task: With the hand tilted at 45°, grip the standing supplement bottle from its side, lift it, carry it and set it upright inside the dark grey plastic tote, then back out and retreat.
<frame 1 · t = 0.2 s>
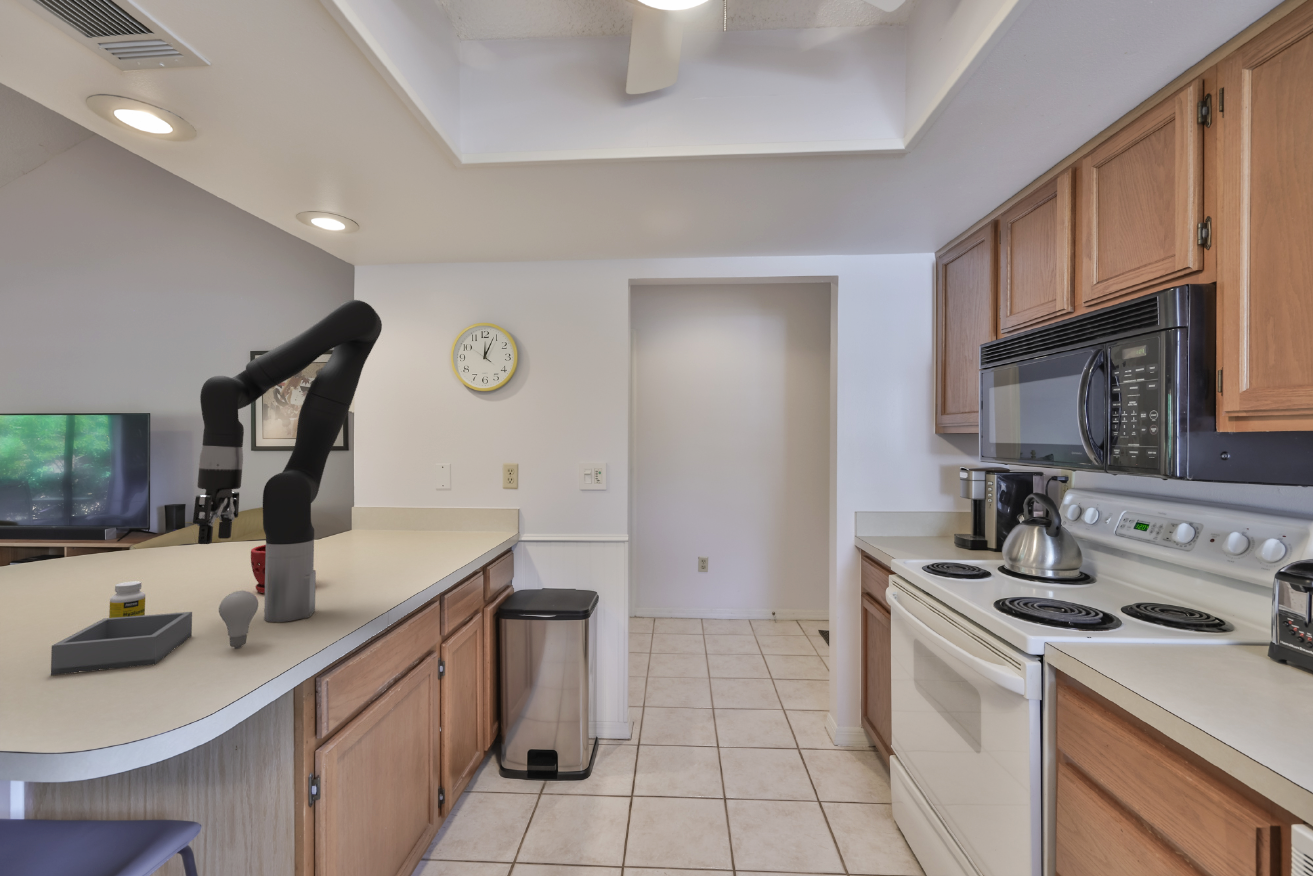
hand: (215, 541, 120), 18 cm above the counter, tool pointing down, fingers open, 8 cm apart
plant pot: (280, 590, 146), on the counter
supplement bottle: (126, 631, 115), on the counter
tote: (127, 653, 102), on the counter
lightbulb: (237, 649, 106), on the counter
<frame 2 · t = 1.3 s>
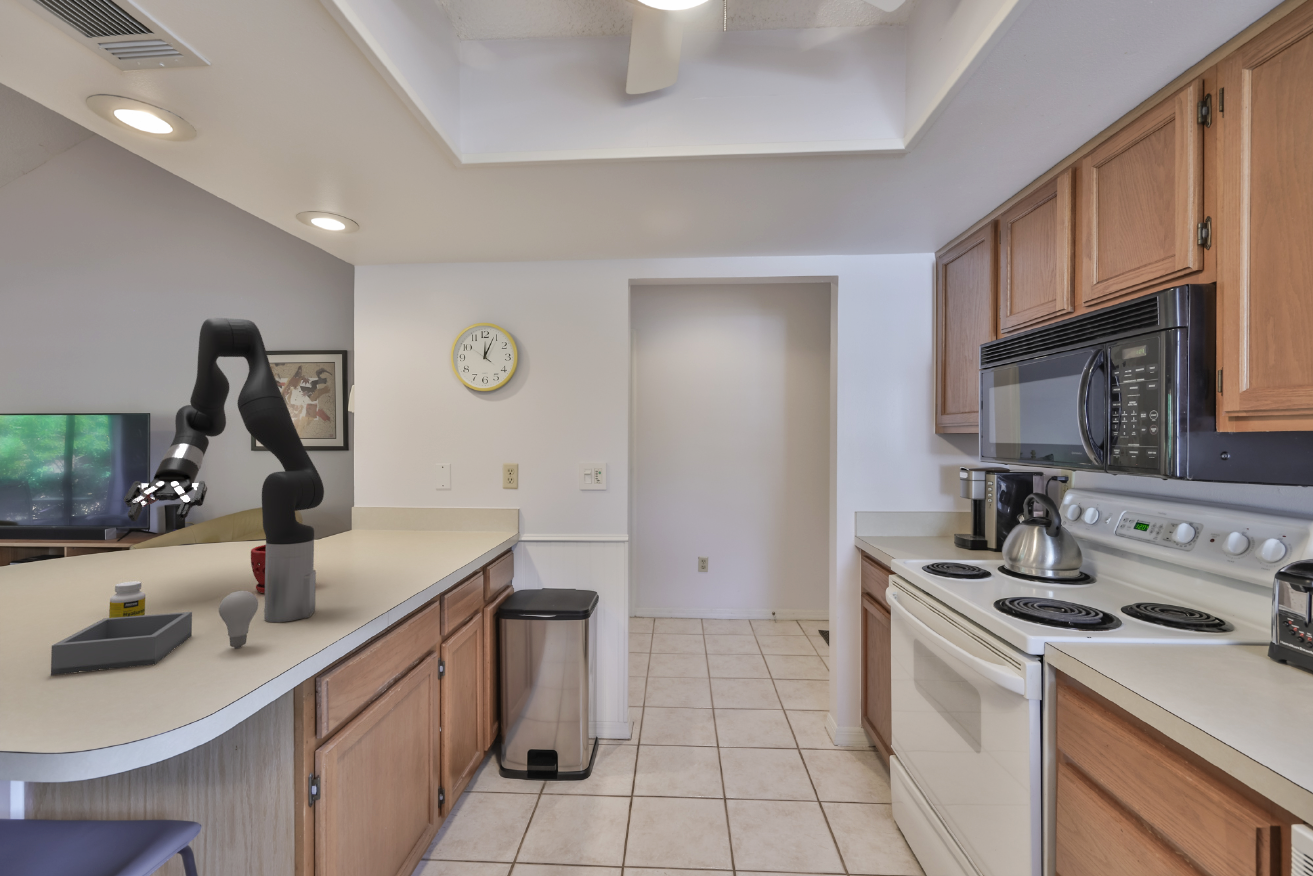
hand: (156, 518, 126), 22 cm above the counter, tool tilted 45°, fingers open, 8 cm apart
nothing on the counter moved.
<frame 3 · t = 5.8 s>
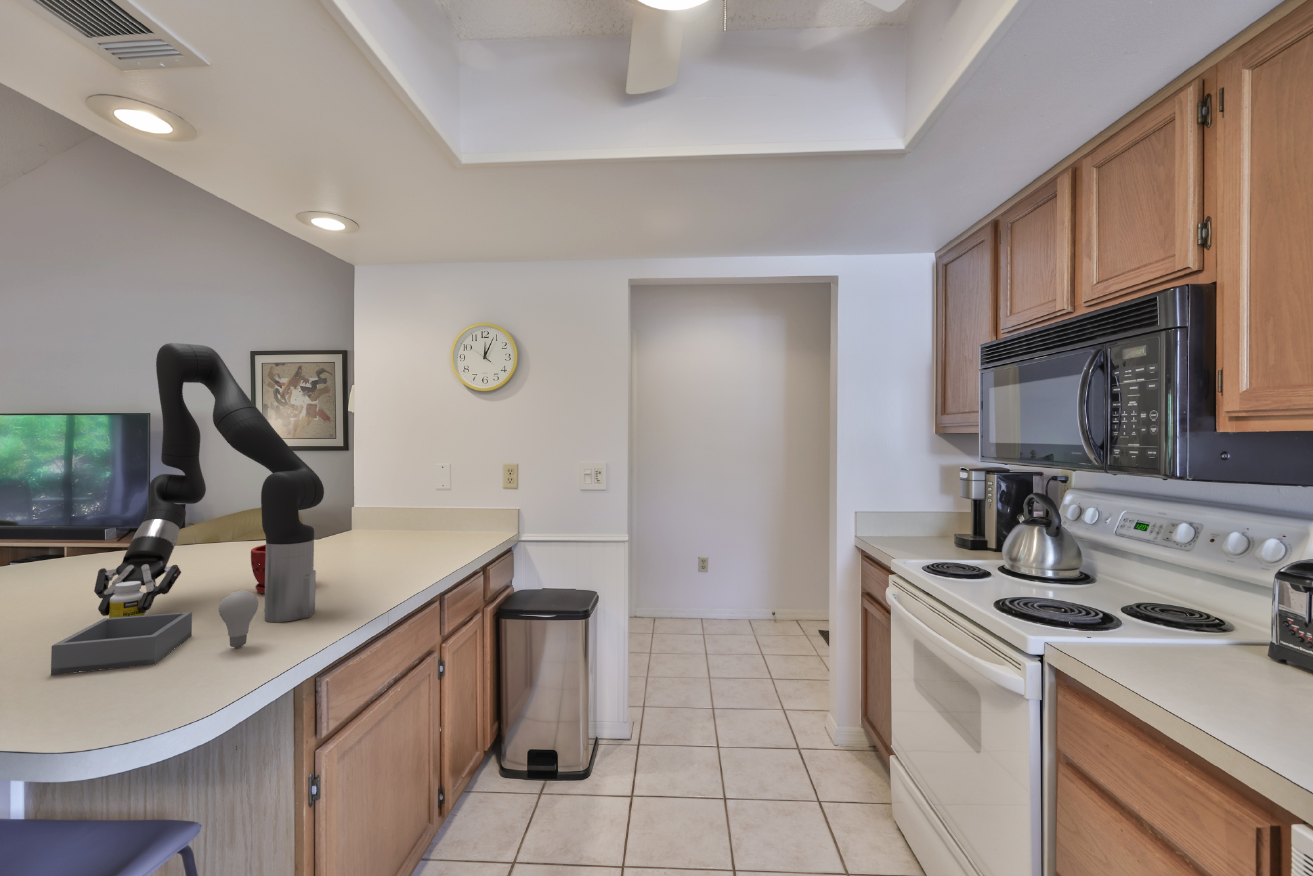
hand: (122, 612, 113), 4 cm above the counter, tool tilted 45°, fingers closed on supplement bottle, 5 cm apart
supplement bottle: (126, 630, 115), on the counter, touching gripper
everything else where it was.
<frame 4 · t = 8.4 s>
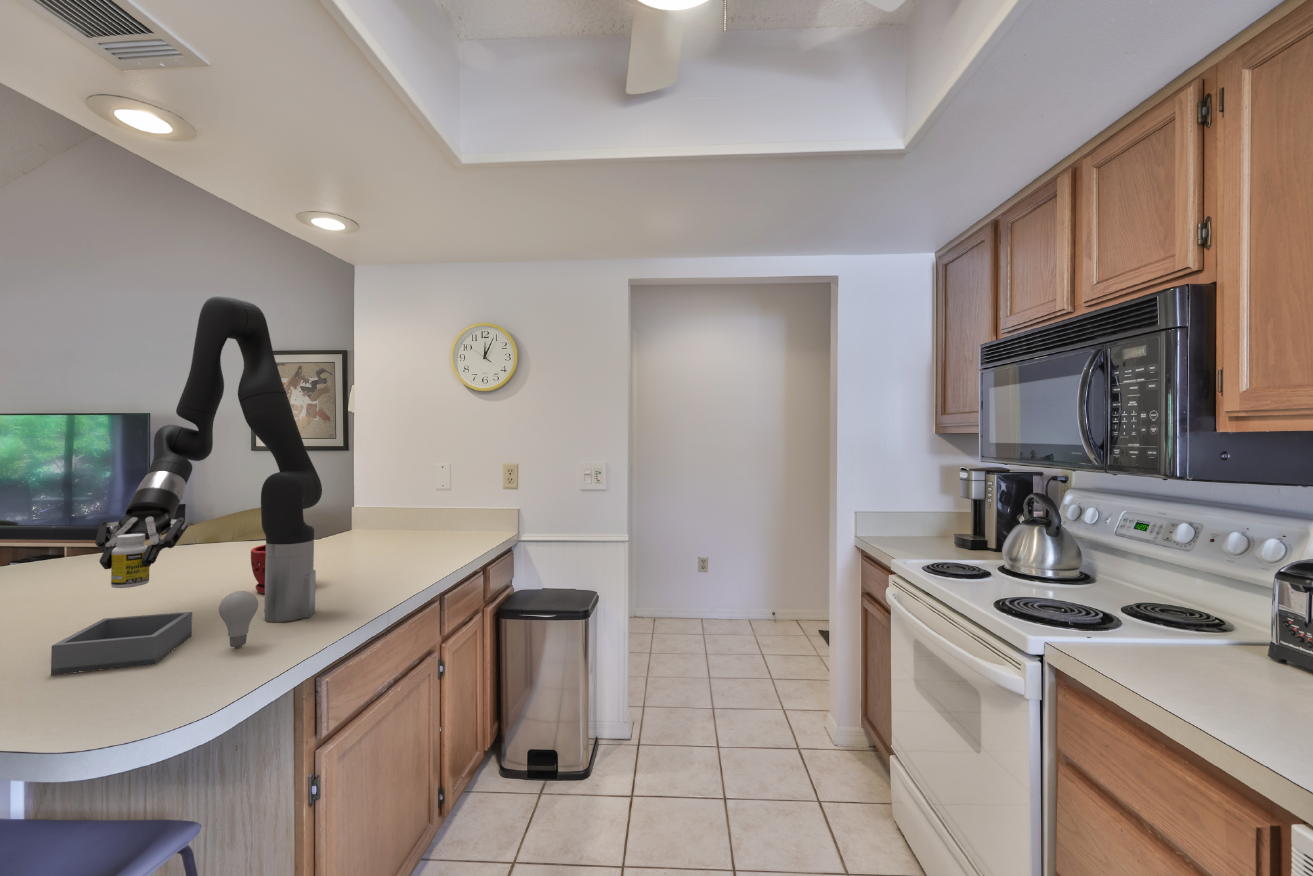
hand: (125, 565, 105), 16 cm above the counter, tool tilted 45°, fingers closed on supplement bottle, 5 cm apart
supplement bottle: (130, 586, 107), point 11 cm above the counter, touching gripper
everything else where it was.
when the fingers open (7 cm above the counter, at t = 11.0 s): supplement bottle drops 2 cm, resting on tote.
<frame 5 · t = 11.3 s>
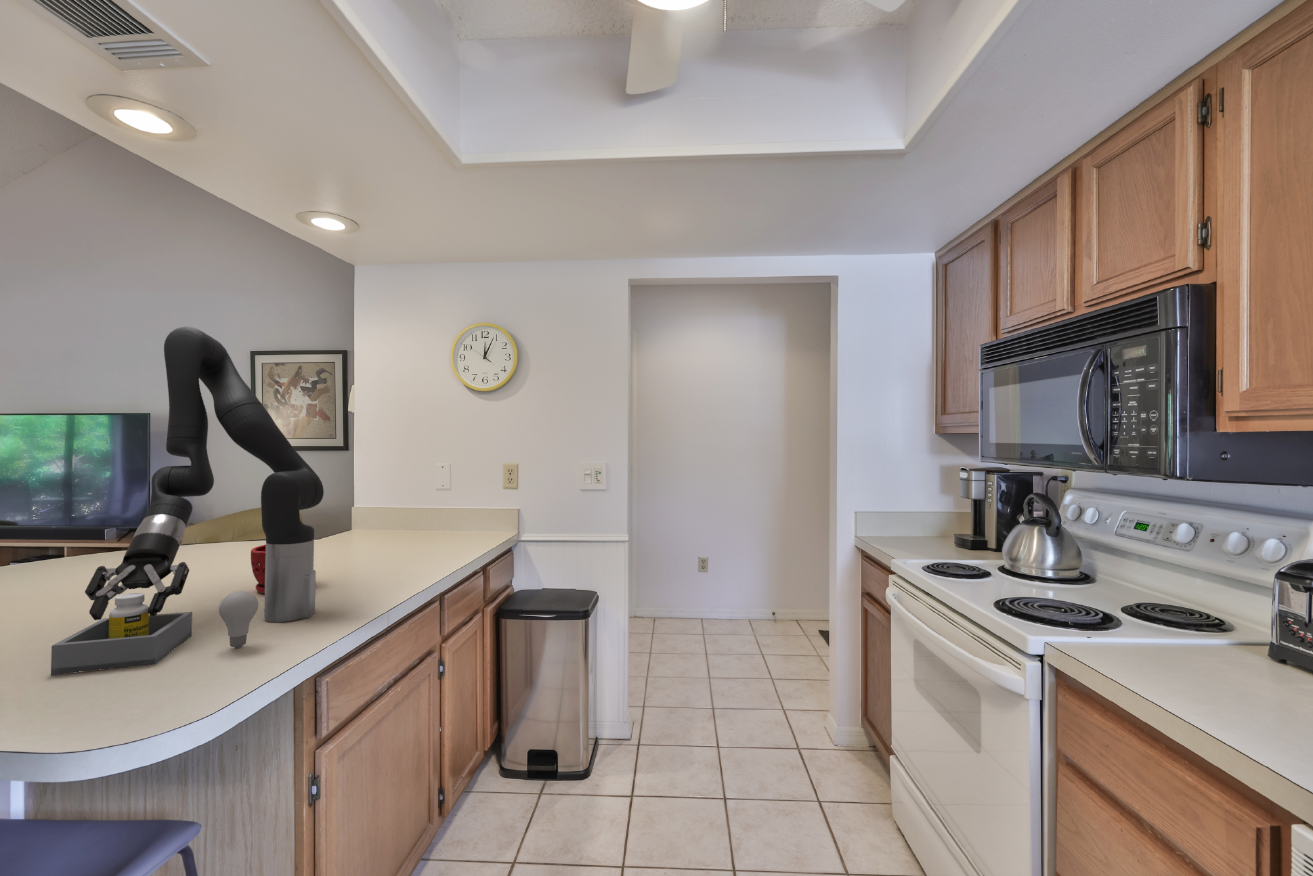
hand: (124, 615, 101), 8 cm above the counter, tool tilted 45°, fingers open, 7 cm apart
supplement bottle: (128, 649, 102), point 1 cm above the counter, touching tote
everything else where it was.
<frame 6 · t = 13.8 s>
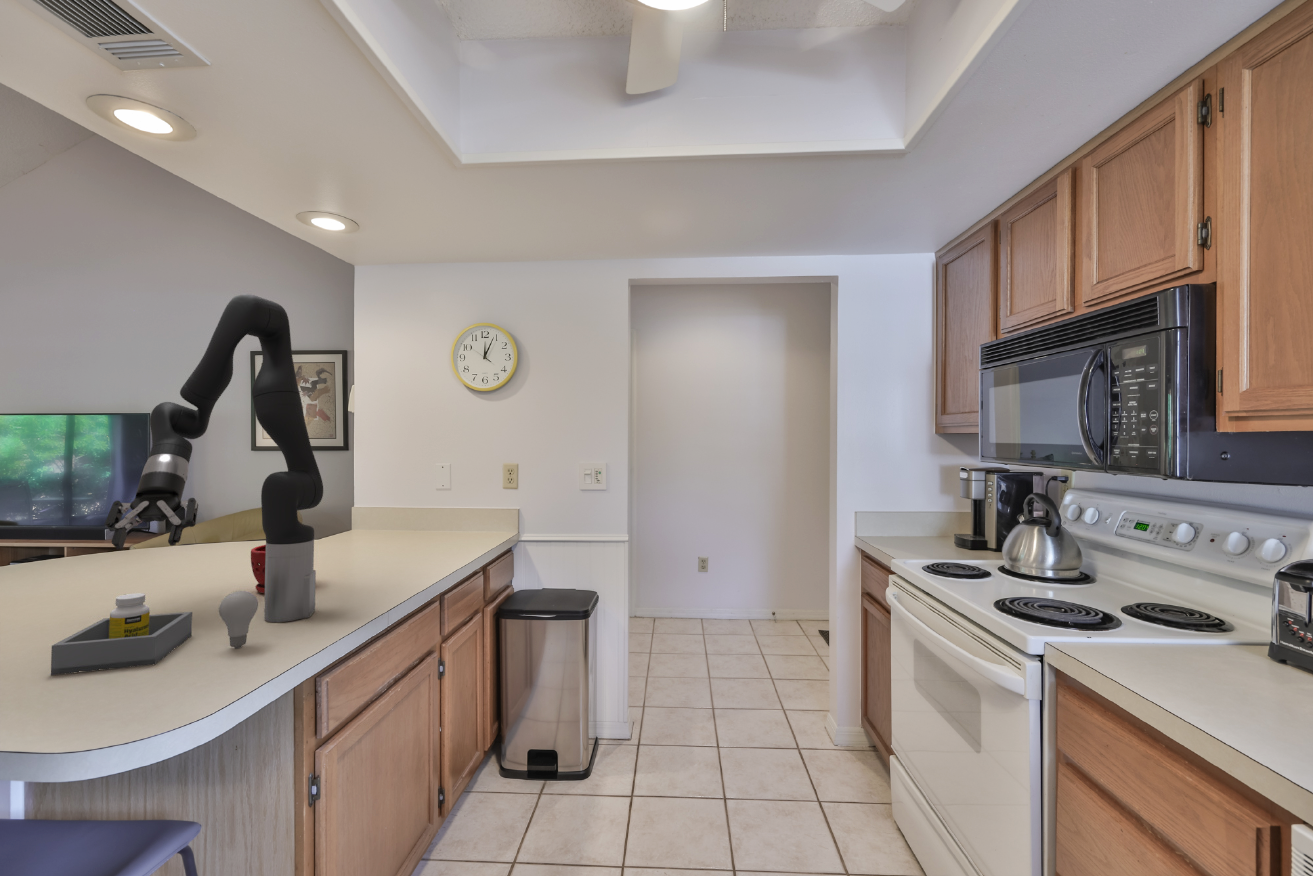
hand: (145, 545, 113), 18 cm above the counter, tool tilted 35°, fingers open, 8 cm apart
nothing on the counter moved.
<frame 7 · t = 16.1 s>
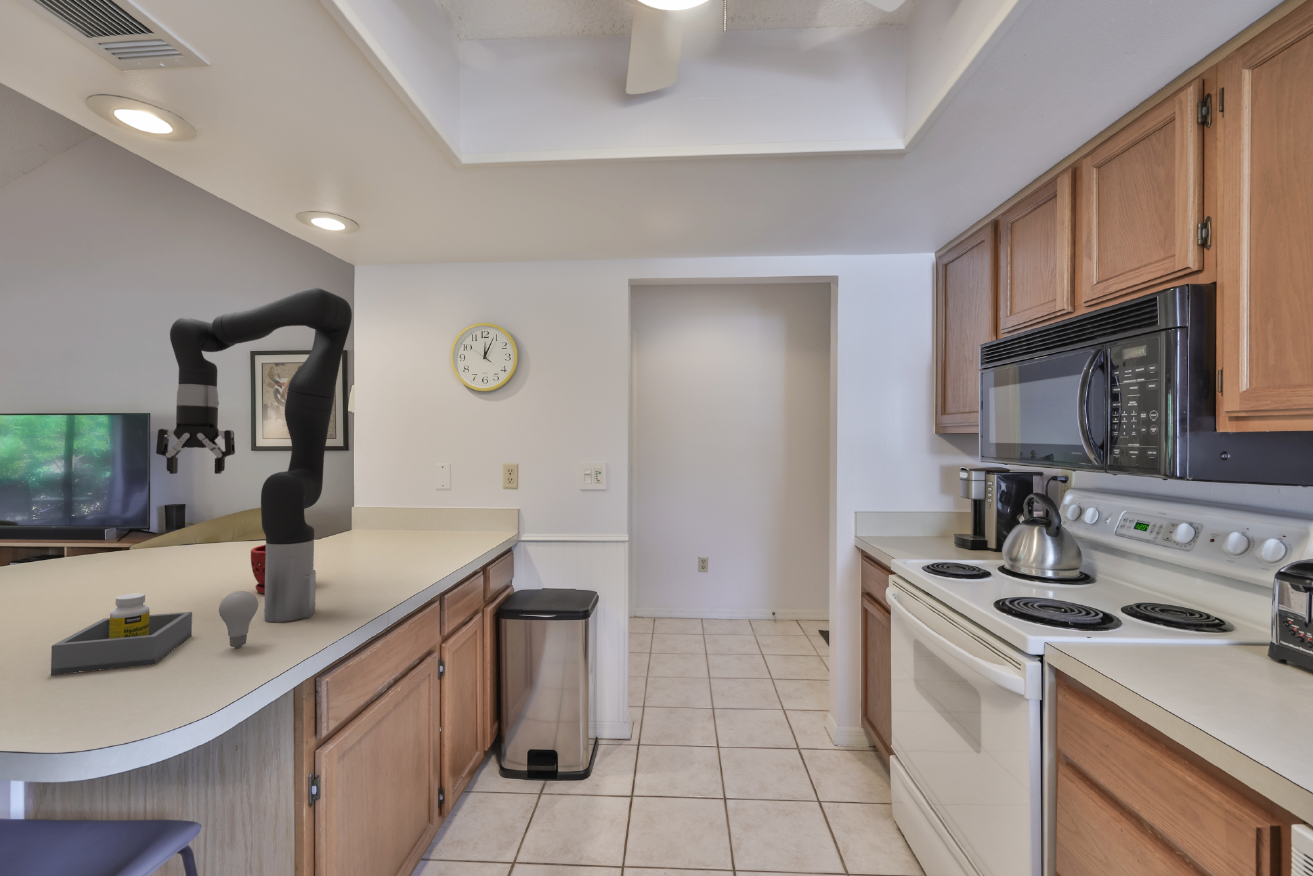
hand: (196, 473, 129), 32 cm above the counter, tool pointing down, fingers open, 8 cm apart
nothing on the counter moved.
at the end: supplement bottle inside the target area on the tote (0.1 cm from its centre), point 0.8 cm above the tote's base; supplement bottle tilted 0° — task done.
